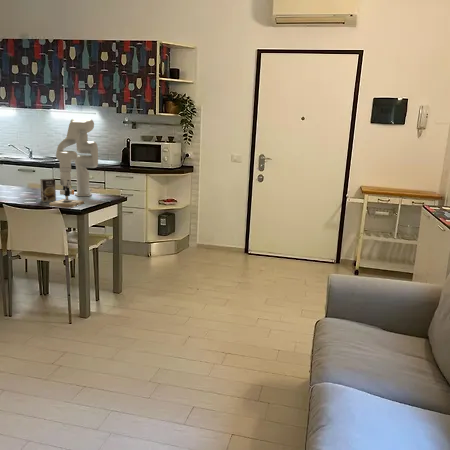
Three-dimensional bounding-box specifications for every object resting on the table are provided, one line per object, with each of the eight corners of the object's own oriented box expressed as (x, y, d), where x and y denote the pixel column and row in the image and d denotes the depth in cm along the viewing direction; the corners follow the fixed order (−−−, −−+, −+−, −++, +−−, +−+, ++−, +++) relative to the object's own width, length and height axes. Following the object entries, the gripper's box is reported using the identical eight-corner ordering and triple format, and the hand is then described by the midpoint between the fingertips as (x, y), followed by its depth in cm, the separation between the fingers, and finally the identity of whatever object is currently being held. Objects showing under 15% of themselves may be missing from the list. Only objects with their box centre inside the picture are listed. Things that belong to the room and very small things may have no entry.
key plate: (63, 201, 345) (63, 198, 344) (84, 203, 340) (84, 200, 340) (49, 205, 329) (49, 202, 328) (70, 207, 324) (70, 204, 324)
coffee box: (43, 202, 339) (42, 180, 335) (41, 200, 344) (39, 178, 340) (56, 201, 344) (55, 179, 341) (53, 199, 349) (52, 178, 346)
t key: (60, 201, 330) (59, 190, 329) (60, 200, 334) (59, 189, 333) (74, 201, 334) (74, 190, 332) (74, 200, 338) (73, 189, 336)
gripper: (56, 168, 333) (57, 194, 337) (63, 171, 320) (64, 197, 324) (67, 168, 337) (68, 193, 342) (74, 170, 324) (75, 197, 329)
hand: (66, 195), depth 333 cm, fingers closed on t key, 3 cm apart
